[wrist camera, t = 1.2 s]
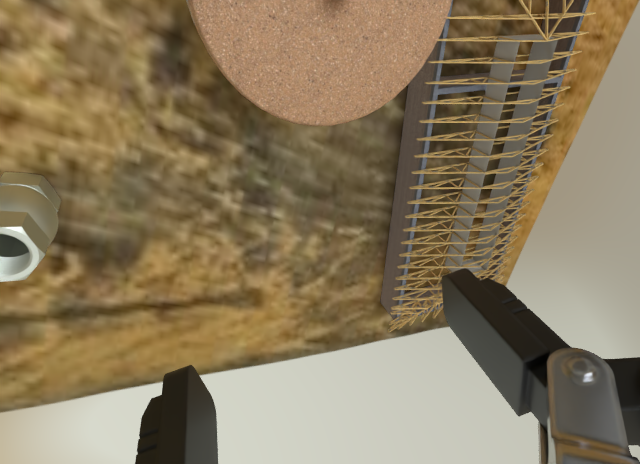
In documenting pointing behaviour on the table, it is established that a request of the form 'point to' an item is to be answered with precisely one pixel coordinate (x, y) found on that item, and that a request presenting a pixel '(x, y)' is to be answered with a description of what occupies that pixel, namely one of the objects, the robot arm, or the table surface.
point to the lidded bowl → (319, 52)
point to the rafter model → (475, 154)
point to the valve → (25, 223)
